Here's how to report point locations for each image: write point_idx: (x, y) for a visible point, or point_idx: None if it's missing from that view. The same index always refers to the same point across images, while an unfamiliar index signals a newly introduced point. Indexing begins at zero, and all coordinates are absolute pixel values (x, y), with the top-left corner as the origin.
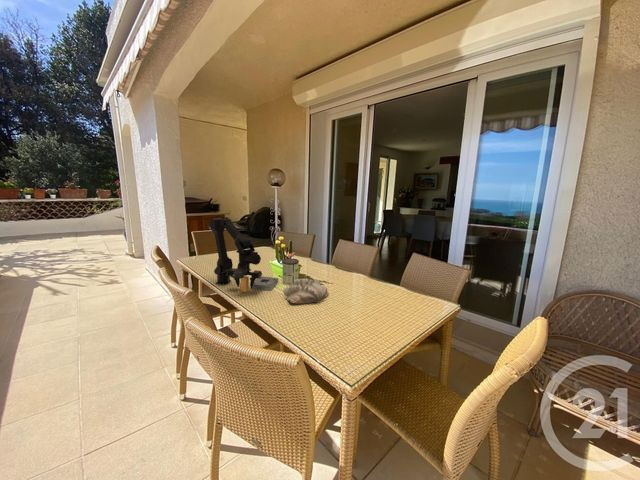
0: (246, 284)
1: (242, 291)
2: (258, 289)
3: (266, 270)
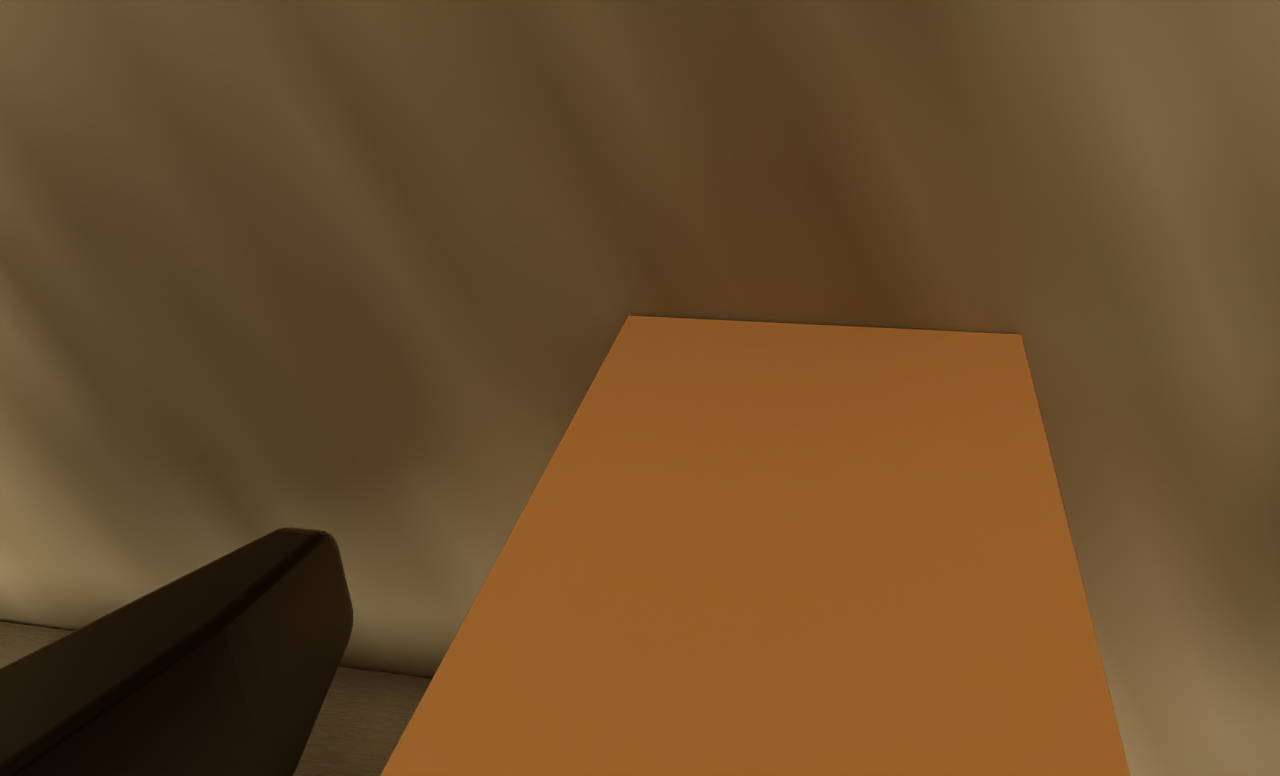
0: (449, 735)
1: (905, 331)
2: None
3: None
